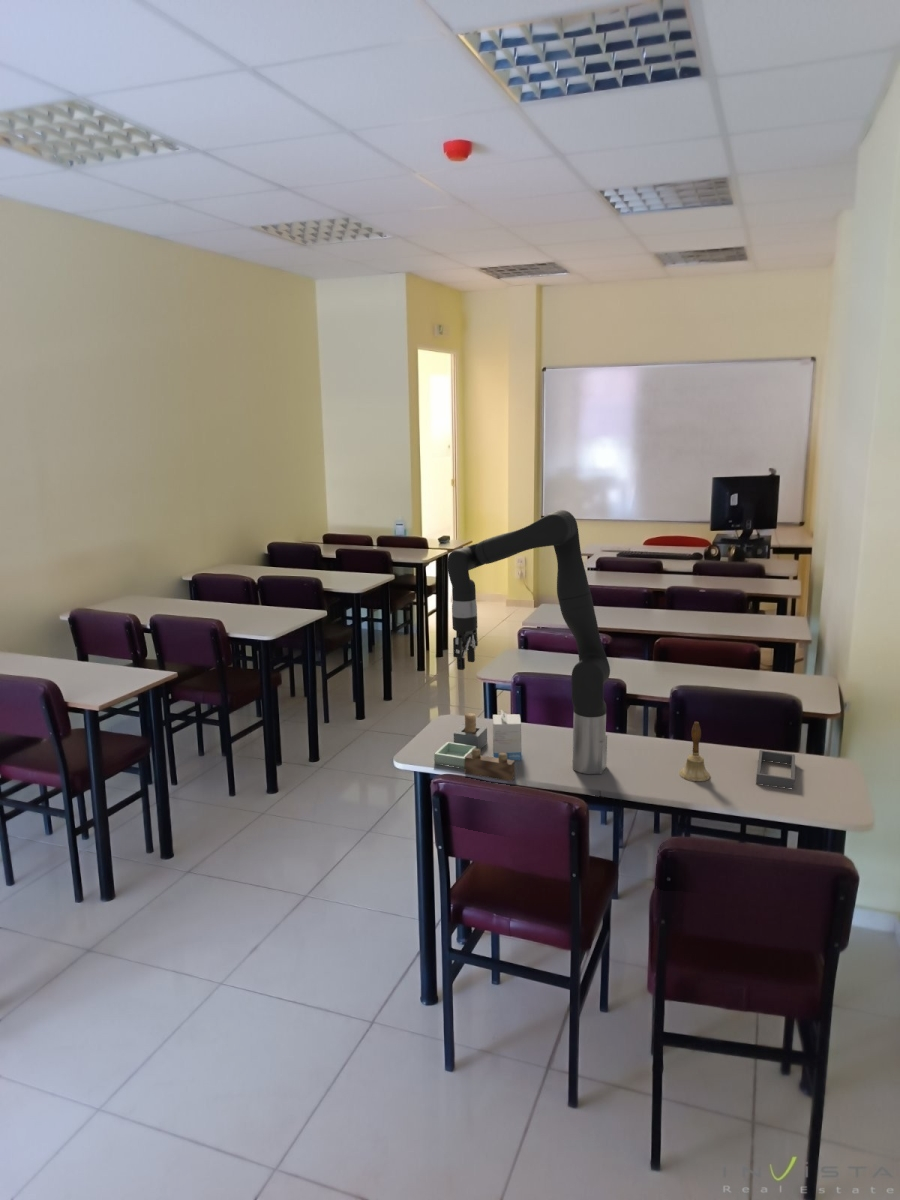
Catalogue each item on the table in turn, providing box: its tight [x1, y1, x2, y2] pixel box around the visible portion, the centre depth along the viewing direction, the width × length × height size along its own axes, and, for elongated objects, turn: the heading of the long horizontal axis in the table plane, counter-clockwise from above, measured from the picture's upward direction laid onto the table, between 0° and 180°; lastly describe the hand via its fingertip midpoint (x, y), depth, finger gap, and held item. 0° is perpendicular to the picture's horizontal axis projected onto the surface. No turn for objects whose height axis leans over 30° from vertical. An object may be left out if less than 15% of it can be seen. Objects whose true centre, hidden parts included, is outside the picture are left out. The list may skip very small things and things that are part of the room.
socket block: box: [453, 723, 488, 750], centre depth 248 cm, size 8×8×5 cm
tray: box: [433, 741, 477, 770], centre depth 237 cm, size 10×10×3 cm
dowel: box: [464, 712, 477, 734], centre depth 247 cm, size 3×3×10 cm
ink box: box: [492, 709, 523, 762], centre depth 239 cm, size 9×8×13 cm
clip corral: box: [755, 749, 796, 790], centre depth 225 cm, size 10×18×3 cm, turn 157°
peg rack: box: [464, 749, 516, 782], centre depth 227 cm, size 14×3×7 cm, turn 67°
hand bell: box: [679, 721, 711, 782], centre depth 224 cm, size 8×8×16 cm
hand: (466, 665), depth 243 cm, fingers open, 8 cm apart
